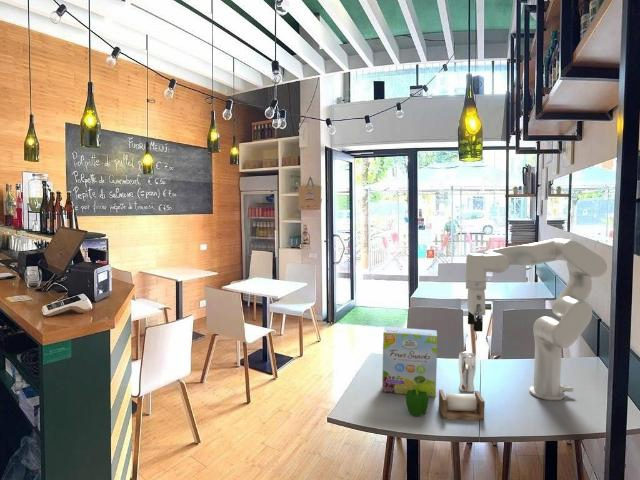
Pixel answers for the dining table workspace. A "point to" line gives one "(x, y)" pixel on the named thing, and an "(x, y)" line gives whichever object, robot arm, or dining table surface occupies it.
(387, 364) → the snack box
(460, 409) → the roll
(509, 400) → the dining table surface
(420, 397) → the bell pepper
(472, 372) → the beer glass
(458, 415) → the cradle
